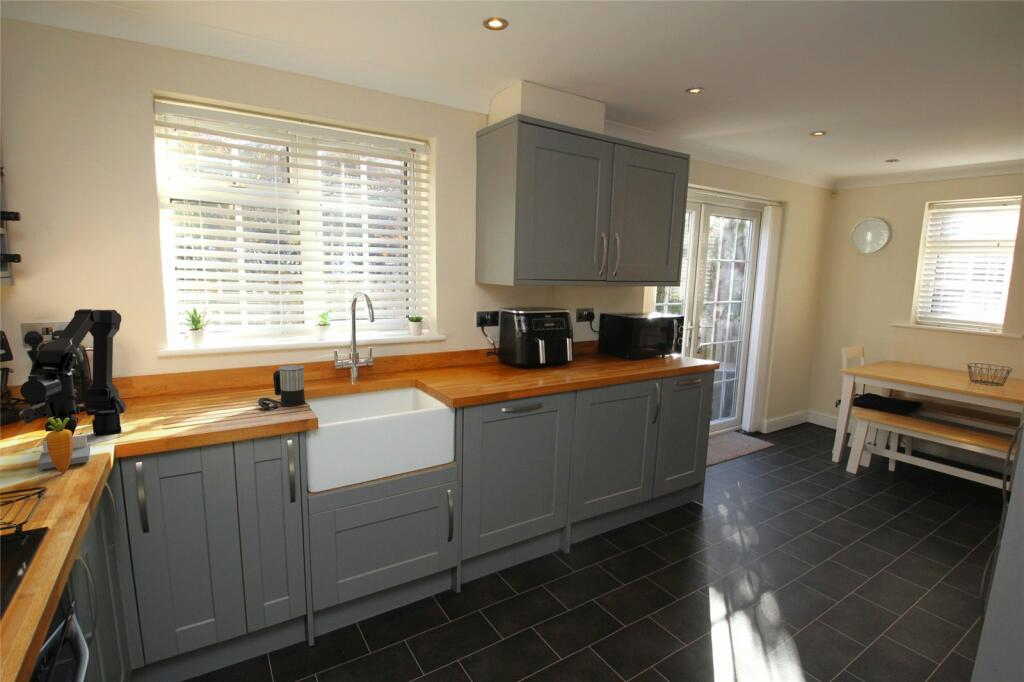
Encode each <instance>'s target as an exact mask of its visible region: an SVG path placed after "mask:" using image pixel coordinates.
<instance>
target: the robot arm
mask: <svg viewBox="0 0 1024 682" xmlns="http://www.w3.org/2000/svg"><path fill="white" fill-rule="evenodd" d="M121 323H122V316H121V313H119V312H118V311H117V310H116V309H94V308H93V309H92V308H89V309H88V308H83V309H82V308H79V309H76V310H75V311H74V313H73V317H72V318H71V320H70V321H69V322H68V324H67V325H66V327H65V328H64V329H63V330H62V331H61V333H60V335H59V336H58V337H57V338H56V339H55V340H53V341H50V342H48V343H46V344H45V345H44V346H42V347H41V349H39V351H38V352H37V354H36V357H35V359H34V361H33V364H32V367H31V369H30V372H29V375H28V376H27V381H25V382H24V383H23V384H22V385H21V386H20V389H19V393H20V395H21V396H22V398H23V399H25V400H26V401H29V402H31V403H33V402H35V403H37V402H39V404H35V405H32V406H29V407H28V408H23V410H20V412H19V413H18V415H19V417H20V420H21V421H22V422H24V424H25V425H28V424H30V423H33V421H34V422H35V421H36V420H39V419H42V418H45V417H46V419H47V420H46V421H45V423H44V428H45V429H44V431H45V433H46V432H48V433H50V432H51V431H55V430H53V429H51V428H49V427H48V426H53V425H52V424H51V423H50V422H49V421H48V419H49V418H51V417H52V418H53V419H54V420H55V421H56V418H59V419H60V420H61V422H62V424H63V421H64V420H65V419H66V418H69V421H68V422H67V424H66V425H65V427H64V429H66V430H70V431H71V432H72V436H74V435H75V432H76V430H77V427H78V423H79V417H76V416H75V415H80V413H81V411H80V406H79V405H77V403H76V392H75V385H74V377H73V375H74V374H76V373H77V370H76V369H75V368H74V365H75V364H76V363H77V360H78V357H79V356H80V355H79V352H78V348H79V346H80V345H81V343H82V342H83V341H84V339H85V337H86V336H87V335H88V333H89V334H91V336H92V342H93V343H92V376H91V377H92V379H91V380H92V381H91V384H90V385H89V387H88V388H85V389H84V390H83V401H82V403H83V407H84V410H85V412H86V415H87V416H88V417H89V416H90V417H91V416H93V418H92V420H91V425H92V433H94V435H95V436H96V437H98V436H104V435H111V434H120V433H122V425H121V418H120V417H121V416H120V414H124V413H125V412H126V410H127V405H126V403H125V402H124V401H123V400H122V398H121V397H120V395H119V390H118V388H117V387H116V385H115V384H114V383H113V363H114V362H113V361H114V360H113V359H114V358H113V353H114V337H115V336H116V334H117V333H118V332H119V331H120V328H121ZM43 400H44V402H41V403H40V401H43ZM56 423H58V422H57V421H56ZM53 427H54V426H53Z"/></svg>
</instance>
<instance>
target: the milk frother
mask: <svg viewBox="0 0 1024 682" xmlns="http://www.w3.org/2000/svg"><path fill="white" fill-rule="evenodd" d="M304 368H305V366H303V365H297V364H296V365H285V366H280V367H279V368H278V369H277V370H275V371H274V372H273V375H272V377H273V378H272V379H273V389H274V395H275V396H278V397H279V396H280V401H278V400H275V399H273V398H269V397H261V398H259V399H258V400H257V403H258V406H260V407H261V408H264V409H265V410H271V409H272V410H273V409H276V408H277V407H279V406H278V405H279V404H280V406H283V407H297V405H298V406H302V405H305V404H306V398H305V369H304ZM278 403H279V404H278ZM272 404H273V405H272Z"/></svg>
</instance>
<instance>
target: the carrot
mask: <svg viewBox="0 0 1024 682" xmlns="http://www.w3.org/2000/svg"><path fill="white" fill-rule="evenodd" d="M47 420H48V421H49V422H50V423H51V424H52V425H53V426H54V427H53V426H48V427H49V428H51V429H53V430H55V431H49V432H48V433H47V434H46V436H45V440H46V441H47V447H48V452H49V455H50V458H51V460H52V462H53V464H54V465H55V467H54V468H56V469H57V471H58V472H60V473H62V474H65V473H66V471H67V470H68V468H69V467H70V465H71V464H70V462H71V458H72V452H73V438H72V432H71V431H70V430H66V429H64V427H65V425H66V424H67V422H68V421H69V418H66V419H65V420H64V421H63V424H62V422H61V420H60V419H59V418H56V421H57V422H58V423H56V421H55V420H54V419H53V418H52V417H51V418H47Z"/></svg>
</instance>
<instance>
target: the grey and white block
mask: <svg viewBox="0 0 1024 682" xmlns="http://www.w3.org/2000/svg"><path fill="white" fill-rule="evenodd" d="M72 438H73V452H72V458H71V462H70V464H69V465H74V464H80V465H84V464H86V463H88V462H90V456H91V455H90V454H91V447H90V444H88V440H87V434H86V433H82V434H77V435H75V434H74V435H73V436H72ZM41 442H42V450H43V451H42V452H41V453H40V456H39V459H38V461H37V471H38V470H41V471H47V470H49V469H51V468H56V467H55V465H54V464H53V462H52V460H51V458H50V455H49V452H48V447H47V441H46V439H42V441H41Z"/></svg>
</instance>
